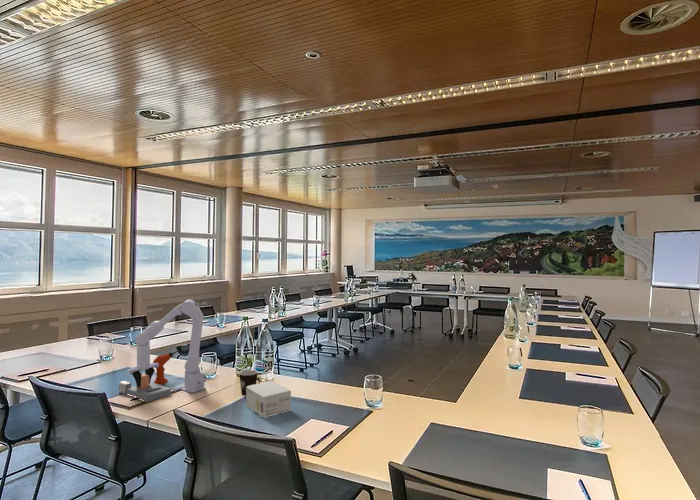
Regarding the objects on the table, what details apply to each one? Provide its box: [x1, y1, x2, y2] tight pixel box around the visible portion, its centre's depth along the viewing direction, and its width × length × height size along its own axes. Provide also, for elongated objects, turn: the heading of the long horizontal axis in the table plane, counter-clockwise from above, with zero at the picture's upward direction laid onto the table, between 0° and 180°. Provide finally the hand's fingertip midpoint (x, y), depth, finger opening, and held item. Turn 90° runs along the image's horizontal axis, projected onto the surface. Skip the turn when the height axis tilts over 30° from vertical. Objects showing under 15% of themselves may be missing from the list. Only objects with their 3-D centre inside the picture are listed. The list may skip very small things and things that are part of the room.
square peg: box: [137, 373, 149, 389], centre depth 199 cm, size 4×4×7 cm
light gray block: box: [118, 380, 132, 395], centre depth 199 cm, size 6×3×5 cm, turn 55°
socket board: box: [126, 381, 172, 403], centre depth 196 cm, size 18×12×3 cm, turn 55°
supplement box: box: [245, 380, 292, 418], centre depth 179 cm, size 17×13×9 cm
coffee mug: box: [238, 369, 261, 396], centre depth 197 cm, size 12×9×10 cm
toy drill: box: [152, 350, 179, 386], centre depth 218 cm, size 5×19×15 cm, turn 166°
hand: (143, 385), depth 199 cm, fingers closed on square peg, 4 cm apart
